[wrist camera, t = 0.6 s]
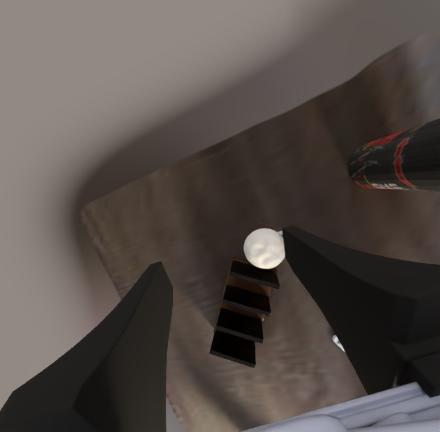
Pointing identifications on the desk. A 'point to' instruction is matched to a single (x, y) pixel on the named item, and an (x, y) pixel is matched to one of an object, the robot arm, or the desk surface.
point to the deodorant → (400, 160)
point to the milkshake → (264, 246)
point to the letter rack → (243, 311)
